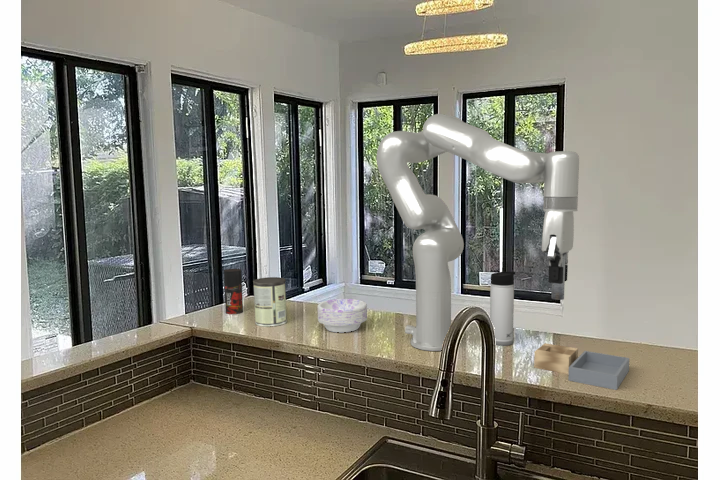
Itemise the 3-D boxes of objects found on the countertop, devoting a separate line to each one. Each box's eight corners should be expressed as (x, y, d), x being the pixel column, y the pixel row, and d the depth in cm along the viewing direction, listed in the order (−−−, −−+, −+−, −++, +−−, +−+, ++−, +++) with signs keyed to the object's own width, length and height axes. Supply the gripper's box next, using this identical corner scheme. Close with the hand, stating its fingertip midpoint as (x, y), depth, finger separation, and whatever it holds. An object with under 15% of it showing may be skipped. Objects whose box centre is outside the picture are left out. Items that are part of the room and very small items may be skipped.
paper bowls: (322, 337, 158) (321, 311, 157) (314, 324, 173) (313, 300, 172) (372, 333, 162) (372, 307, 161) (360, 320, 177) (360, 296, 176)
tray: (568, 380, 122) (568, 367, 122) (584, 362, 133) (584, 350, 133) (616, 390, 116) (617, 376, 116) (628, 370, 128) (629, 358, 127)
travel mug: (515, 346, 147) (516, 273, 145) (490, 345, 149) (491, 273, 146) (513, 339, 153) (514, 269, 151) (489, 338, 155) (490, 269, 152)
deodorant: (223, 314, 188) (221, 271, 186) (228, 310, 194) (226, 268, 192) (240, 314, 187) (238, 271, 186) (245, 310, 193) (243, 268, 192)
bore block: (534, 367, 131) (534, 351, 130) (544, 358, 137) (544, 343, 137) (568, 374, 126) (568, 357, 126) (577, 364, 133) (578, 348, 132)
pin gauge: (548, 298, 129) (550, 249, 128) (553, 296, 132) (554, 247, 131) (562, 300, 128) (564, 250, 126) (566, 298, 130) (568, 248, 129)
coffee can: (260, 318, 182) (259, 276, 180) (290, 319, 180) (289, 277, 179) (250, 326, 172) (248, 282, 170) (281, 327, 170) (280, 283, 168)
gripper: (554, 202, 136) (552, 275, 138) (532, 206, 123) (530, 285, 125) (585, 203, 132) (583, 278, 134) (567, 206, 118) (564, 289, 121)
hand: (557, 281), depth 129 cm, fingers closed on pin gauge, 2 cm apart
